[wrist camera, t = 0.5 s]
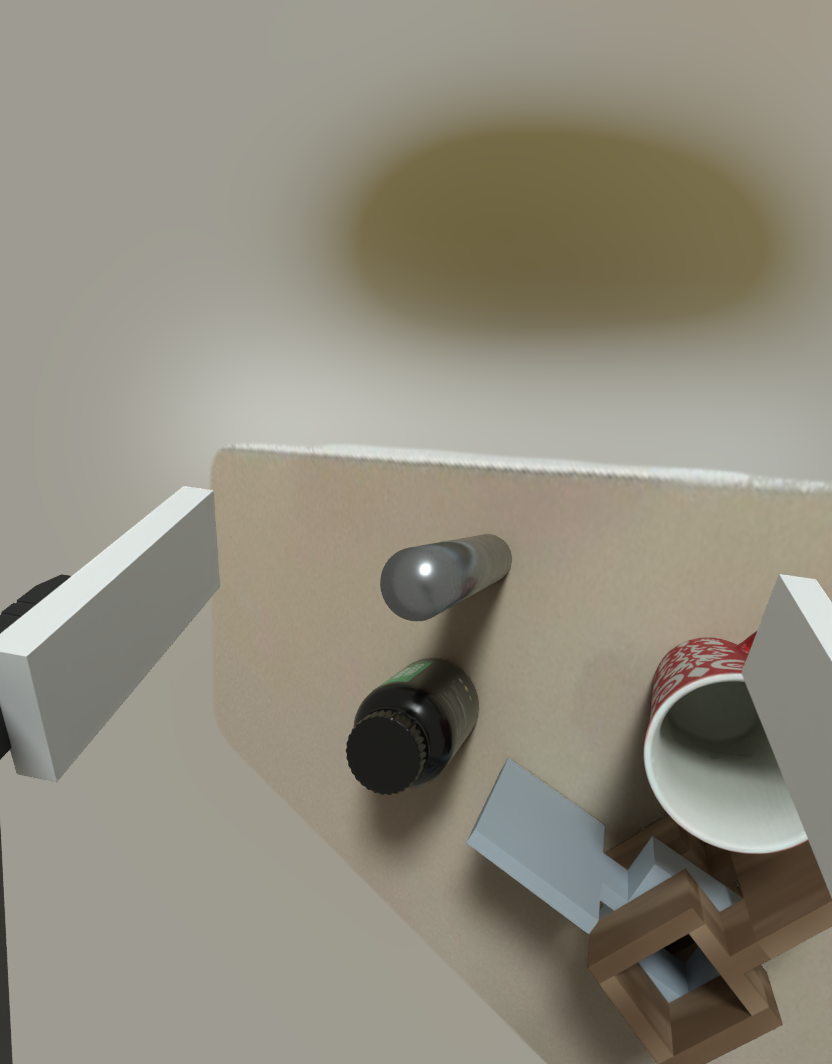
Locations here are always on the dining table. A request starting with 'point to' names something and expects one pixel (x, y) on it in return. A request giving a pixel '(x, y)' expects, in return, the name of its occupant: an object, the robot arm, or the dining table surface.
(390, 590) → the hinge pin
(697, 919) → the brown frame with handle
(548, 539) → the dining table surface
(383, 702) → the supplement bottle
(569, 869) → the hinge leaf swing
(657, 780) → the mug
